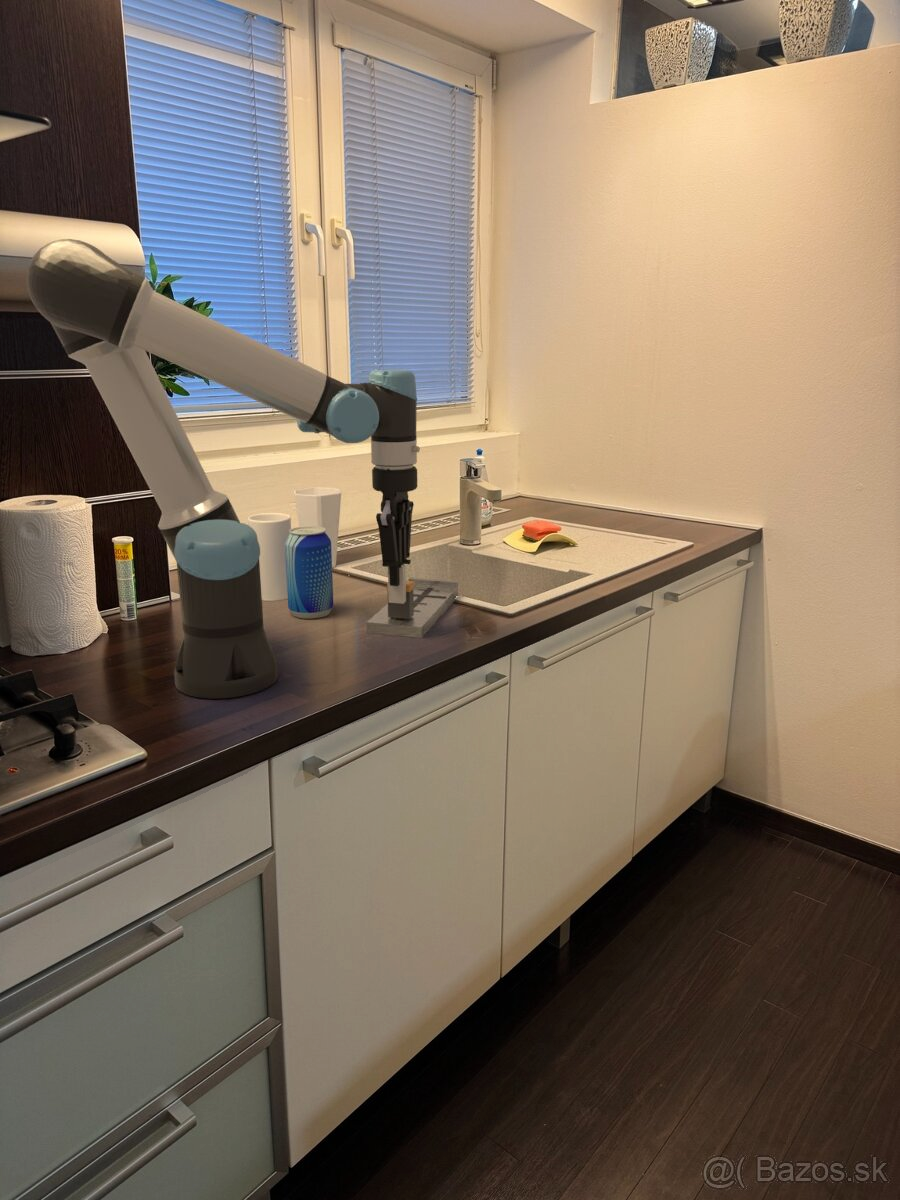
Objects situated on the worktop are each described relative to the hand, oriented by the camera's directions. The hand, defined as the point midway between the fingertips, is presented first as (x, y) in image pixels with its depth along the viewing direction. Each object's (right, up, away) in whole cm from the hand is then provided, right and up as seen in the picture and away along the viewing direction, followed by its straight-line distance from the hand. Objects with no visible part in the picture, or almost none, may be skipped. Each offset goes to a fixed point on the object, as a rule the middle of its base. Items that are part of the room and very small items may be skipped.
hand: (397, 601), depth 150 cm
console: (+3, -2, +13) cm, 13 cm away
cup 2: (-20, +8, +46) cm, 51 cm away
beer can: (-17, -2, +13) cm, 21 cm away
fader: (0, -3, +4) cm, 4 cm away
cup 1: (-26, +1, +24) cm, 35 cm away
